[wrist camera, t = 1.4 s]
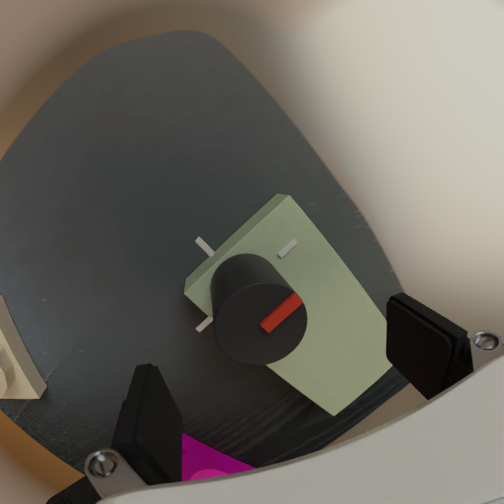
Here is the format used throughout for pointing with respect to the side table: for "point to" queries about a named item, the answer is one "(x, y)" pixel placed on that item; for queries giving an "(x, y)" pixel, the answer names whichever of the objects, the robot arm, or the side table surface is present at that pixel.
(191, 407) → the side table surface
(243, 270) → the timer dial
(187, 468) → the toy block
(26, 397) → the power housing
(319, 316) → the dial panel
